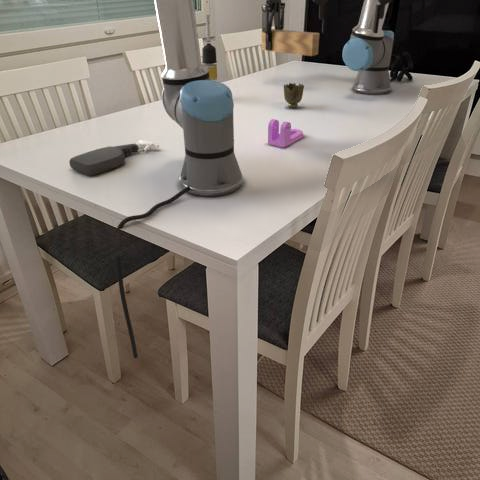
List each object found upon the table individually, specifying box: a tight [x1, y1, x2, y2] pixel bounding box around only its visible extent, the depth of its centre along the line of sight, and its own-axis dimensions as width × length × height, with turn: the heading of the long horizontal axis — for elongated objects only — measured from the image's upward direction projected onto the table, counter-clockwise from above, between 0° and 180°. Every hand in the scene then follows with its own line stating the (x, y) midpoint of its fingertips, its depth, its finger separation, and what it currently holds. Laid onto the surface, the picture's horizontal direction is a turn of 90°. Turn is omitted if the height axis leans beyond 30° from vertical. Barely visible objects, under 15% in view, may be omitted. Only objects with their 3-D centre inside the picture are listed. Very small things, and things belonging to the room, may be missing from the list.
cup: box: [283, 82, 305, 109], centre depth 164 cm, size 8×7×8 cm
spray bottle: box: [68, 139, 160, 177], centre depth 124 cm, size 3×11×24 cm
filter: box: [201, 14, 218, 81], centre depth 171 cm, size 6×6×30 cm
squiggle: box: [389, 51, 414, 83], centre depth 198 cm, size 11×10×15 cm
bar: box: [260, 28, 320, 57], centre depth 184 cm, size 25×5×8 cm, turn 50°
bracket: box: [267, 118, 304, 148], centre depth 134 cm, size 13×6×7 cm, turn 143°
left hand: (349, 32), depth 120 cm, fingers open, 13 cm apart
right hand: (272, 48), depth 190 cm, fingers closed on bar, 5 cm apart
